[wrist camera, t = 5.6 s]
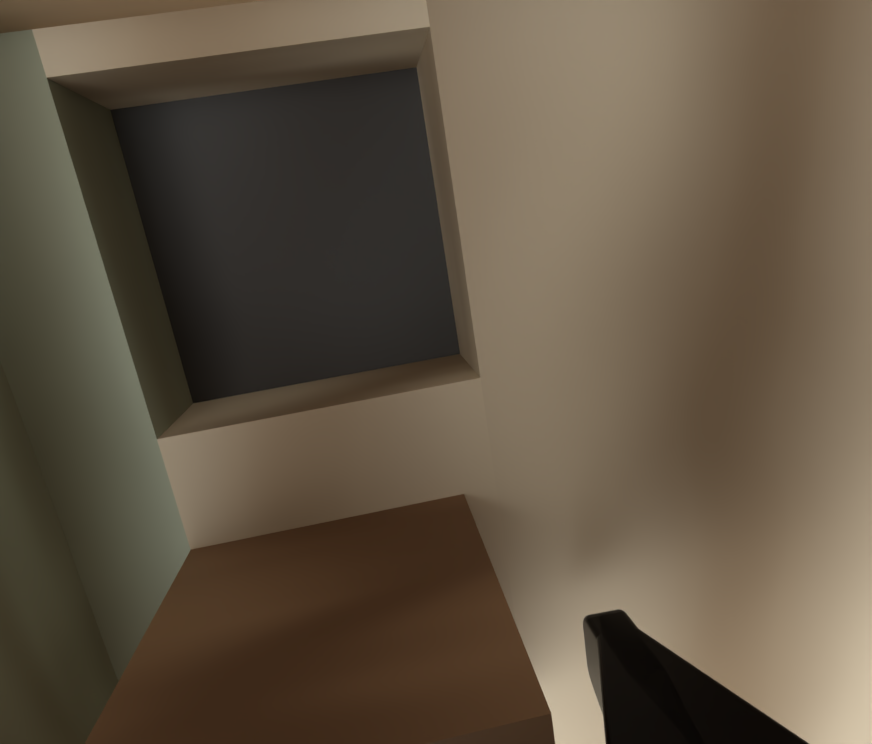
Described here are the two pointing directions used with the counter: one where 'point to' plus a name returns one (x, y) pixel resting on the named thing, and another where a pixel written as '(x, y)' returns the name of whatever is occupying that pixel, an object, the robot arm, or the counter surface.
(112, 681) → the trap track
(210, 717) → the walnut block
